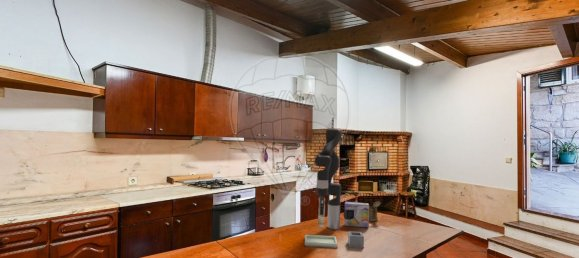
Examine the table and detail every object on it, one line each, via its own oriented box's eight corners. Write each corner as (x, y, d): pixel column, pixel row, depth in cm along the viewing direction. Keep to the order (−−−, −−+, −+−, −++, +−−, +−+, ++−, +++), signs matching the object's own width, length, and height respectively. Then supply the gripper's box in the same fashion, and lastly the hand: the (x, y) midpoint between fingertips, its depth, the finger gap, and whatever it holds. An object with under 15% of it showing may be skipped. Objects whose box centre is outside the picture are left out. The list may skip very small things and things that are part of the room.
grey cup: (347, 242, 191) (348, 231, 192) (361, 243, 191) (361, 232, 191) (349, 247, 183) (349, 235, 183) (363, 247, 182) (363, 236, 182)
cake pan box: (343, 225, 230) (343, 202, 230) (343, 223, 234) (344, 201, 235) (368, 228, 224) (369, 204, 225) (368, 226, 229) (369, 203, 229)
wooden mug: (372, 223, 237) (373, 200, 238) (364, 218, 251) (365, 197, 251) (382, 223, 239) (383, 200, 240) (374, 218, 253) (374, 197, 253)
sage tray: (305, 238, 196) (305, 234, 196) (335, 240, 195) (335, 236, 195) (304, 246, 182) (304, 242, 182) (337, 248, 181) (337, 243, 181)
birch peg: (317, 224, 191) (318, 204, 191) (324, 225, 190) (324, 204, 191) (318, 226, 187) (318, 206, 187) (324, 227, 186) (325, 206, 187)
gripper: (316, 185, 197) (315, 210, 196) (316, 188, 183) (315, 216, 182) (327, 185, 196) (326, 211, 196) (328, 189, 182) (328, 217, 182)
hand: (321, 213), depth 189 cm, fingers closed on birch peg, 4 cm apart
